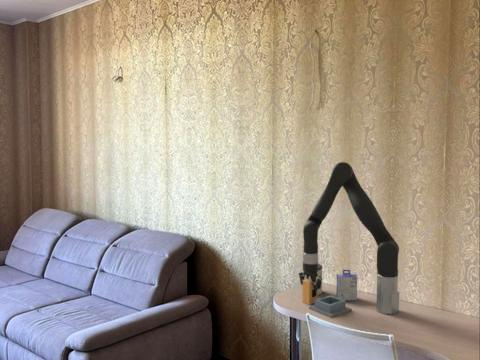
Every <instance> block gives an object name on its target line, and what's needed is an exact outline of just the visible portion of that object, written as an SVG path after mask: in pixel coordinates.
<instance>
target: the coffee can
mask: <svg viewBox="0 0 480 360" xmlns="http://www.w3.org/2000/svg"><path fill="white" fill-rule="evenodd" d="M302 272H304V271H303V270H302ZM317 275H318V277H319V278H322V279H323V265H322V264H320V263H318V272H317ZM316 280H317V279H316ZM322 293H323V282H322V283H321V287H320V289H318V295H320V294H322Z"/></svg>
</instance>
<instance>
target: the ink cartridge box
mask: <svg viewBox="0 0 480 360" xmlns="http://www.w3.org/2000/svg"><path fill="white" fill-rule="evenodd" d="M335 297H337V298H340V299H343V300H345V301H357V300H358V276H357V274H356V273H351V270H350V269H342V273H336V296H335Z"/></svg>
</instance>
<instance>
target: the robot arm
mask: <svg viewBox="0 0 480 360" xmlns="http://www.w3.org/2000/svg"><path fill="white" fill-rule="evenodd" d="M331 170H332V171H331V174H330V177H329V179H328V183H327V184H326V186H325V188H324V190H323V192H322V194H321V196H319V199H318V200H317V202H316V204H315V205H314V207H313V209H312V211H311V213H310V215H309V217H308V218H307V220H306V221H305V223H304V226H303V230H302V231H303V233H302V234H303V255H302V272H299V273H298V275H299V281H300V285H301V286H303V280H306V278H308V279H310V282H311V285H312V297H316V295H317V289H320V287H321V283H322V284H323V277H322V278H319V277H318V275H317V272H318V264H319V243H318V237H319V236H318V235H319V229H320V227H321V225H322V224H323V221H324V220H325V219H326V217H327V216H328V214H329V212H330V210H331V209H332V207H333V205H334V202H335V199H336V197H337V196H338V194H339V191H340V190H341V189H342V188H343V189H344V191H345V193H346V194H347V197H348V200H349V202H350V205H351V207H352V210H353V211H354V213H355V215H356V217H357V219H358V220H359V221H360V223H361V225H363V226H364V227H365V228H366V229H367V231H368V232H370V234H371V236H372V237H373V239H374V241H375V243H376V246H377V250H376V271H377V272H376V305H375V307H376V308H375V309H376V311H377V312H378V313H381V314H386V315H394V314H397V313H399V312H400V292H399V291H398V289H399V288H398V285H399V283H398V281H399V265H398V264H399V253H400V246H399V244H398V243H397V242H396V240H395V239H394V237H393V236H392V235H391V234H390V232H389V230H388V229H387V227H386V226H385V224H384V221H383V219H382V218H381V215H380V214H379V212H378V209H377V208H376V207H375V205H374V203H373V201H372V200H371V199H370V197H369V196H368V194H367V192H366V191H365V190H364V189H363V187H362V186H361V184H360V182H359V179H357V176H356V174H355V172H354V169H353V166H352V165H350V163H348V162H343V161H341V162H337V163H336V164H335V165H334V166H333V167H332V169H331ZM303 271H304V272H303ZM316 279H317V280H316ZM313 282H315V283H313ZM314 285H315V287H314Z"/></svg>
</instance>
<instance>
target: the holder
mask: <svg viewBox="0 0 480 360" xmlns="http://www.w3.org/2000/svg"><path fill="white" fill-rule="evenodd" d="M346 304H347V300H343V299H340V298H337V297H336V296H334V295H331V294H330V295H327V296H324V297H320V298H318V299H317V300H315V303H314V304H311V305H309V306H308V309H309V310H311V311H314V312H316V313H319V314H321V315H324V316H326V317H329V318H335V317H337V316H340V315H343V314H346V313H349V312H352V308H351V307H349V306H347V305H346Z"/></svg>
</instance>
